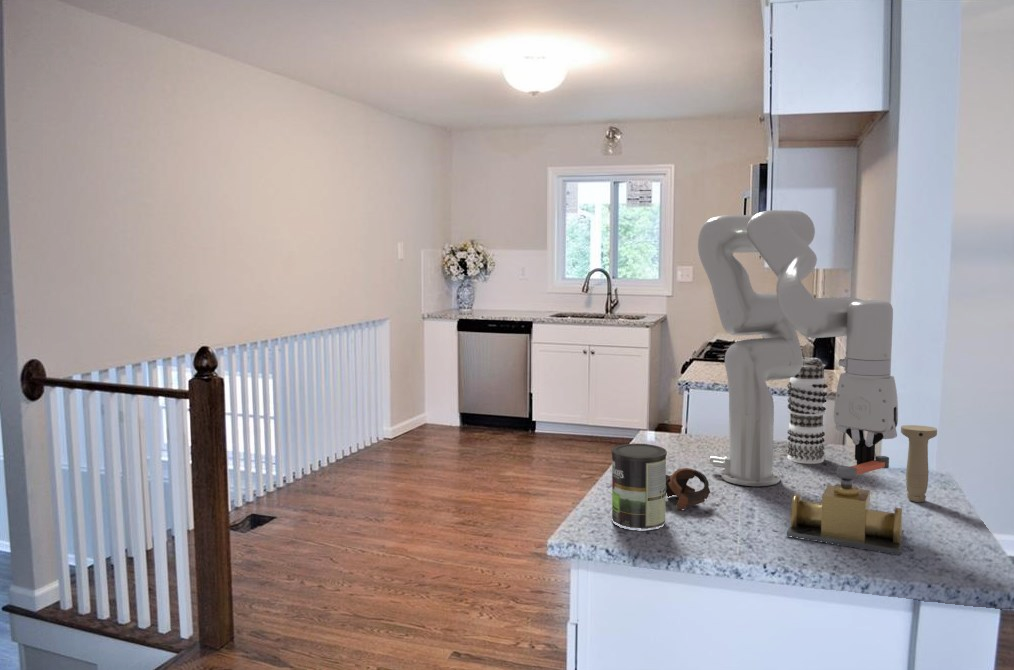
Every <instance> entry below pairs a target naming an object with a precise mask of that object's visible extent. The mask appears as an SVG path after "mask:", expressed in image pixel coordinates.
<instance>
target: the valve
mask: <svg viewBox="0 0 1014 670" xmlns="http://www.w3.org/2000/svg"><path fill="white" fill-rule="evenodd" d="M870 497H871V490H869V489H863V488H859V487H858V486H856V485H853V479H844V478H840V483H839V484H838V483H837V484H834V485H831V484H828V485H827V486H826V488H825V489H824V491H823V493H822V495H821V502H818V501H817V502H816V501H810V500H803V497H802V495H801V494H799V493H794V494H793V496H792V498H791V503H790V511H789V513H790V514H789V515H790V516H789V517H790V519H789V521H790V526H789V527H788V529H787V530H786V537H787V536H792V537H798V538H804V539H809V540H817V541H822V542H827V543H833V544H839V545H838V546H840V545H843V546H842V547H846V546H849V547H848V548H852V547H855V548H854V549H858V548H863V549H862V550H864V549H867V550H866V551H870V550H874V551H873V552H876V551H880V552H879V553H883V552H886V553H885V554H889V553H893V554H892V555H895V554H898V555H897V556H901V551H902V546H903V545H902V544H903V541H904V531H905V530H903V508H901V507H895V508H894V512H889V511H879V510H875V509H874V510H873V509H870V504H871V503H870V500H871V499H870ZM809 540H808V541H809ZM827 543H826V544H827ZM833 544H832V545H833Z"/></svg>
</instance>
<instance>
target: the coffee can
mask: <svg viewBox="0 0 1014 670" xmlns="http://www.w3.org/2000/svg"><path fill="white" fill-rule="evenodd" d="M610 451H611V455H612V456H611V472H612V473H611V475H612V478H611V479H612V480H611V484H612V485H611V487H612V488H611V489H612V490H611V491H612V493H611V496H612V497H611V498H612V499H611V500H612V501H611V505H612V506H611V509H612V510H611V511H612V513H611V520H612V519H613V521H614V522H616V523H618V524H620V525H622V526H626V527H630V528H641V529H648V528H656V527H659V526H662V525H663V524H664V523H665V521H666V502H667V501H666V498H667V493H666V475H667V453H668V451H667V450H666V448H664V447H662V446H658V445H656V444H655V445H654V444H650V443H649V444H647V443H624V444H619V445H616V446H613V447H612V448H611V450H610Z"/></svg>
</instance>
